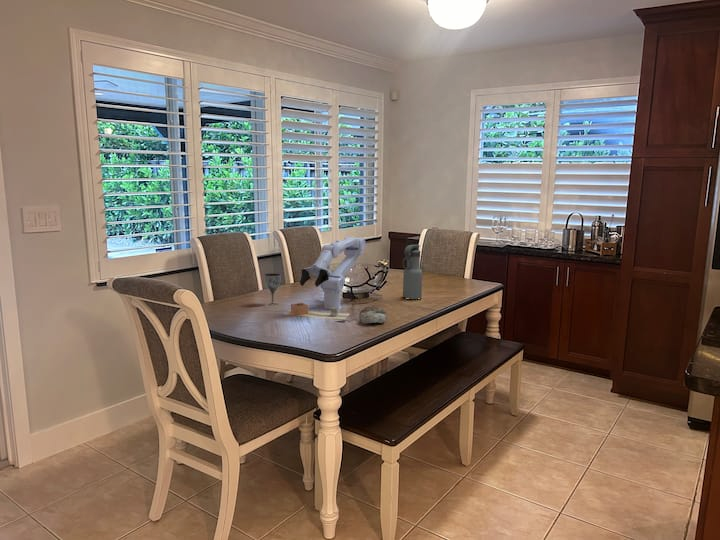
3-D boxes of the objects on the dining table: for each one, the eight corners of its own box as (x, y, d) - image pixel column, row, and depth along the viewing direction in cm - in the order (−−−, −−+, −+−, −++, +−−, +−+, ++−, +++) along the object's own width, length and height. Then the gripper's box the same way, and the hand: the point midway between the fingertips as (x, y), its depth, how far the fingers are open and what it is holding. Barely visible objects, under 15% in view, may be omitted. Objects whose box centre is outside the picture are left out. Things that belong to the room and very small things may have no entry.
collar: (290, 312, 242) (290, 304, 242) (302, 311, 245) (302, 302, 245) (296, 315, 238) (296, 306, 237) (307, 313, 241) (307, 305, 240)
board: (290, 311, 249) (290, 301, 248) (350, 316, 243) (350, 305, 242) (282, 318, 237) (282, 307, 236) (344, 322, 232) (344, 311, 231)
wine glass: (261, 304, 262) (260, 274, 259) (274, 302, 267) (273, 272, 265) (271, 307, 256) (271, 276, 254) (284, 305, 262) (284, 274, 260)
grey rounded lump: (374, 321, 223) (367, 299, 227) (358, 330, 228) (351, 308, 232) (394, 321, 235) (387, 300, 238) (378, 329, 240) (371, 308, 243)
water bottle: (411, 301, 275) (413, 246, 271) (398, 298, 283) (399, 244, 278) (425, 298, 282) (427, 245, 277) (411, 295, 289) (413, 243, 285)
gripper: (305, 256, 243) (291, 276, 234) (333, 257, 236) (319, 278, 227) (310, 268, 247) (297, 288, 238) (337, 270, 240) (325, 290, 231)
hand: (308, 284), depth 233 cm, fingers open, 7 cm apart
